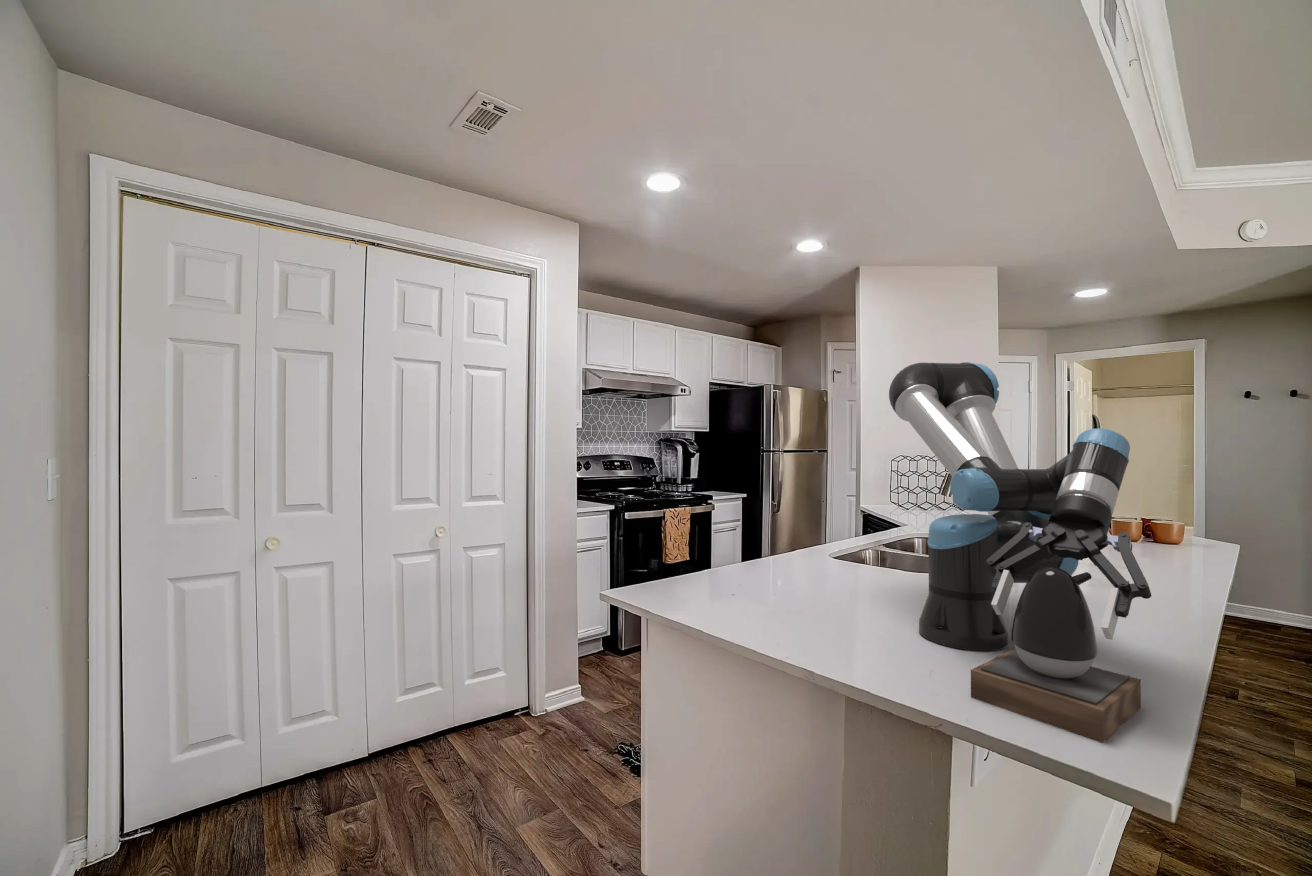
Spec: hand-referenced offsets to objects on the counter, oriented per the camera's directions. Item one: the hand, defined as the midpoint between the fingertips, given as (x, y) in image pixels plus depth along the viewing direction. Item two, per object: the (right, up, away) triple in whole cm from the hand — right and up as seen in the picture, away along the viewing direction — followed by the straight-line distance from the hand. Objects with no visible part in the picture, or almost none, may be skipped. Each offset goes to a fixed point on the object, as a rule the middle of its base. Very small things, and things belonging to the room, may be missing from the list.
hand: (1047, 621), depth 82 cm
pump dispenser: (+2, -8, +2) cm, 8 cm away
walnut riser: (+2, -12, +1) cm, 12 cm away
